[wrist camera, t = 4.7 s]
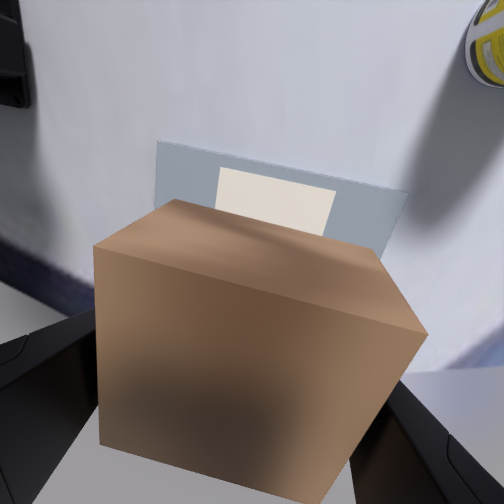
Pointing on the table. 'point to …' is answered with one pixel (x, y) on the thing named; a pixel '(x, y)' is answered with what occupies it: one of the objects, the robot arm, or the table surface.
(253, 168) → the board
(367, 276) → the block
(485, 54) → the supplement bottle
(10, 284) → the table surface
